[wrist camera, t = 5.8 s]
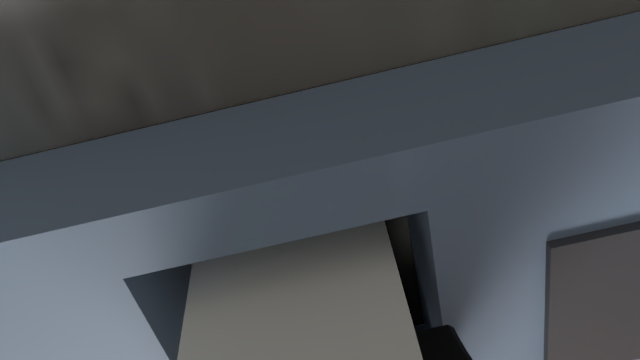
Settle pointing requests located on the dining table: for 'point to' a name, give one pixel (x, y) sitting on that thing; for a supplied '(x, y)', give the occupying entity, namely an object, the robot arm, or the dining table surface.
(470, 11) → the dining table surface
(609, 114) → the power strip
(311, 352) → the plug
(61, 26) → the dining table surface
